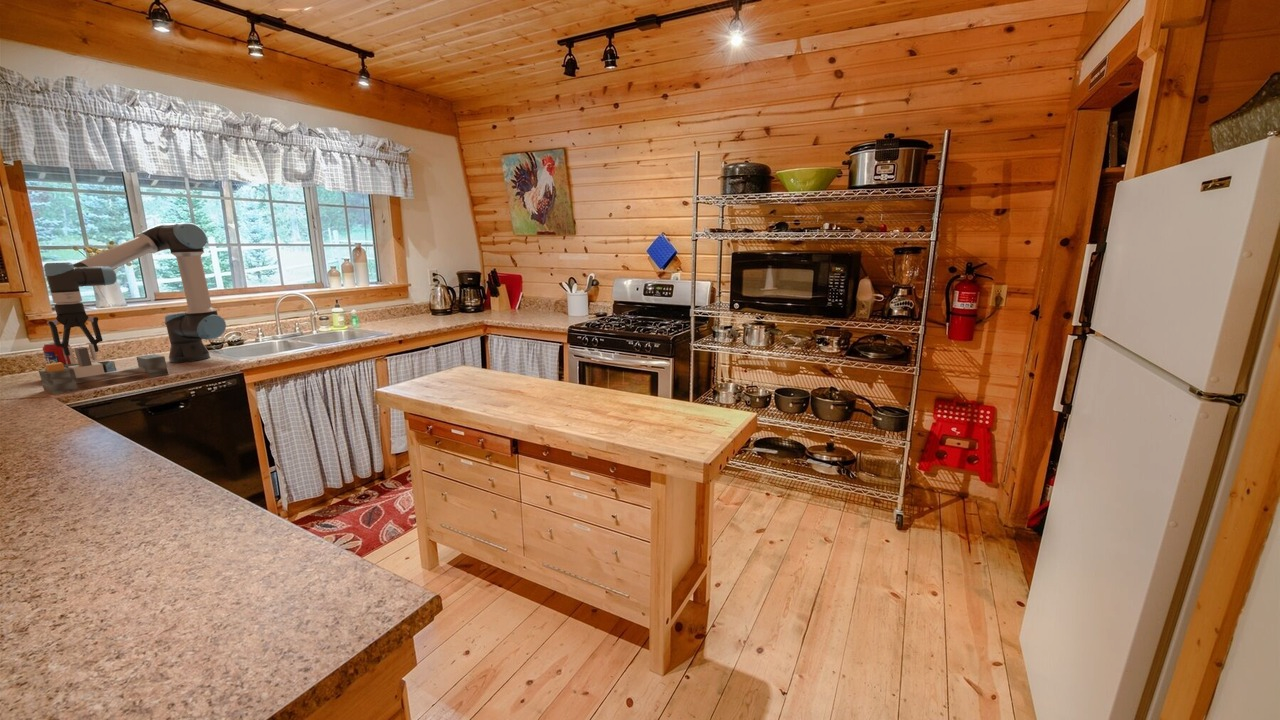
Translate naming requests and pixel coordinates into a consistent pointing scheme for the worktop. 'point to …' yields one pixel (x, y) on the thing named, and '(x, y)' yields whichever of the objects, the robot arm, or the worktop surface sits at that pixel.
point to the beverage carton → (107, 365)
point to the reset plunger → (54, 367)
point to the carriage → (85, 364)
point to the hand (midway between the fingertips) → (84, 361)
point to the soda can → (55, 354)
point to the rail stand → (103, 376)
